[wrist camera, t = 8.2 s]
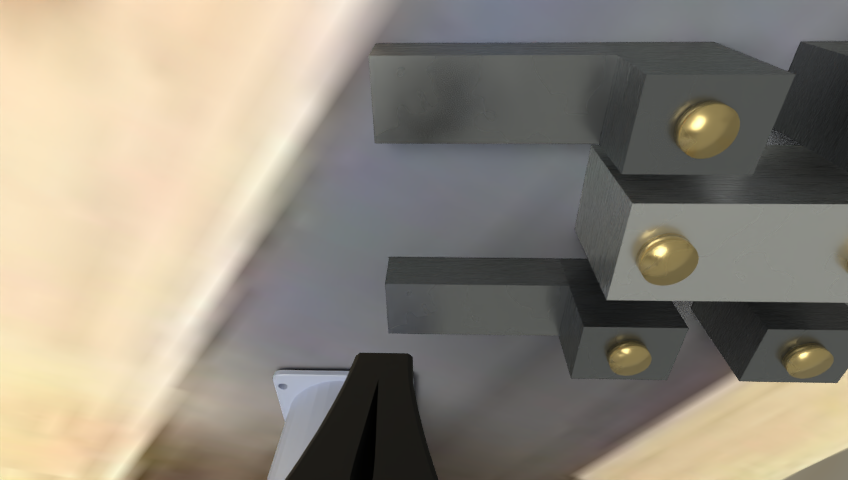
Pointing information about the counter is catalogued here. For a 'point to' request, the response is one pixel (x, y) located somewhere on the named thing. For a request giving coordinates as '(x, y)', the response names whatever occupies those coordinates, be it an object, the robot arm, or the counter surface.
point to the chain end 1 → (568, 124)
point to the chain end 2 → (794, 321)
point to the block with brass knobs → (719, 231)
